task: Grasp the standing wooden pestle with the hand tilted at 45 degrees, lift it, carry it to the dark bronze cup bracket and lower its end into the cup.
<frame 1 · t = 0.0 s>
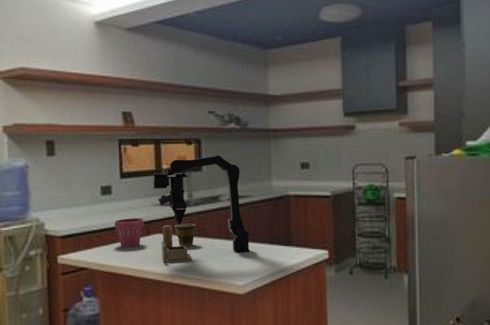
hand: (178, 222, 214), 15 cm above the worktop, tool pointing down, fingers open, 9 cm apart
ceramic cup: (183, 246, 238), on the worktop
plant pot: (130, 245, 244), on the worktop
wooden pestle: (168, 254, 217), on the worktop
cup bracket: (176, 258, 208), on the worktop
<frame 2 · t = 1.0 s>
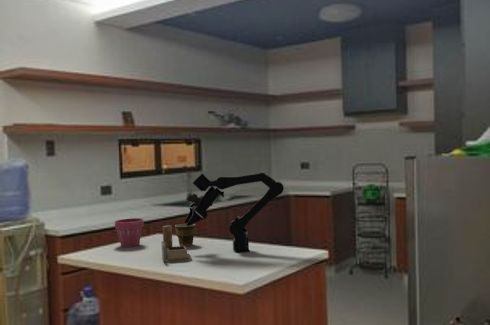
hand: (185, 224, 219), 13 cm above the worktop, tool tilted 45°, fingers open, 9 cm apart
nothing on the worktop moved.
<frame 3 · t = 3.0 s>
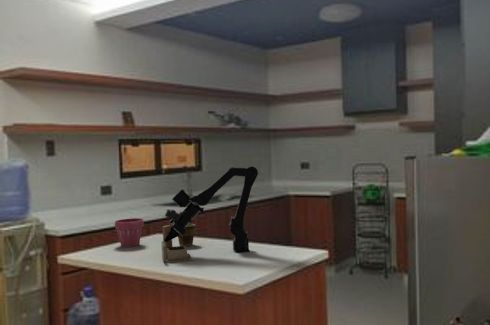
hand: (164, 240, 217), 7 cm above the worktop, tool tilted 45°, fingers closed on wooden pestle, 4 cm apart
wooden pestle: (168, 254, 217), on the worktop, touching gripper
everything else where it was.
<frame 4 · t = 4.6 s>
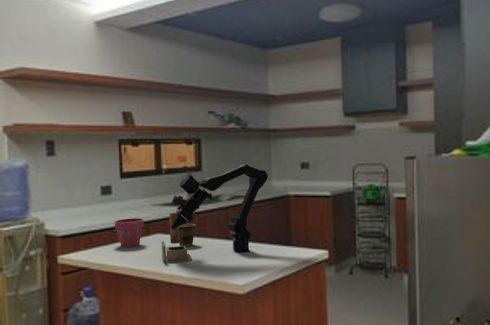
hand: (171, 227, 209), 13 cm above the worktop, tool tilted 45°, fingers closed on wooden pestle, 4 cm apart
wooden pestle: (175, 242, 209), point 7 cm above the worktop, touching gripper
everything else where it was.
when the fingers open (8 cm above the worktop, at t = 6.2 s): wooden pestle stays where it is, resting on cup bracket.
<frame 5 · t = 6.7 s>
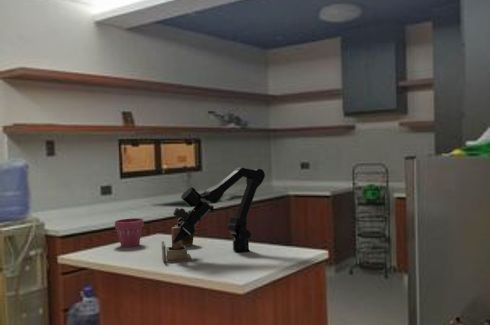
hand: (173, 240, 208), 8 cm above the worktop, tool tilted 45°, fingers open, 9 cm apart
wooden pestle: (176, 257, 208), point 1 cm above the worktop, touching cup bracket
everything else where it was.
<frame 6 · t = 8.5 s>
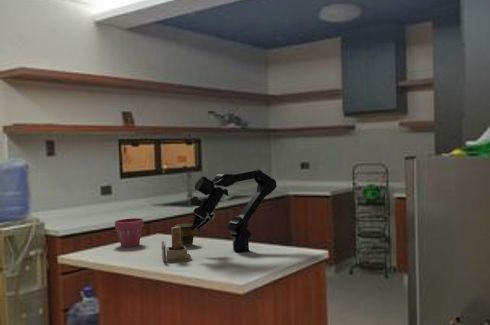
hand: (194, 229, 213), 12 cm above the worktop, tool tilted 35°, fingers open, 9 cm apart
nothing on the worktop moved.
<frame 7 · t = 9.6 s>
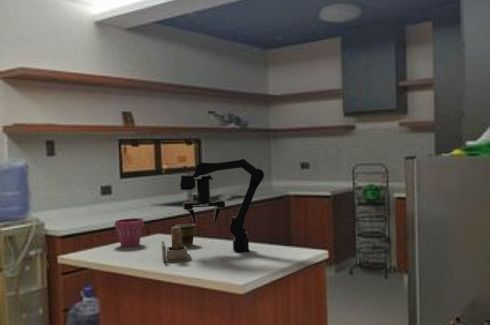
hand: (204, 223, 221), 13 cm above the worktop, tool pointing down, fingers open, 9 cm apart
nothing on the worktop moved.
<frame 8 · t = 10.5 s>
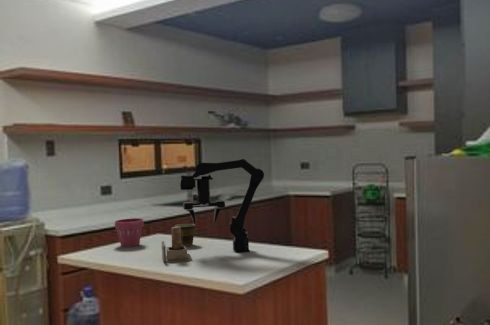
hand: (204, 223, 221), 13 cm above the worktop, tool pointing down, fingers open, 9 cm apart
nothing on the worktop moved.
at the end: wooden pestle 0.1 cm off-centre on the cup bracket, point 0.6 cm above the cup bracket's base; wooden pestle tilted 0°; the gripper is holding nothing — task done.
